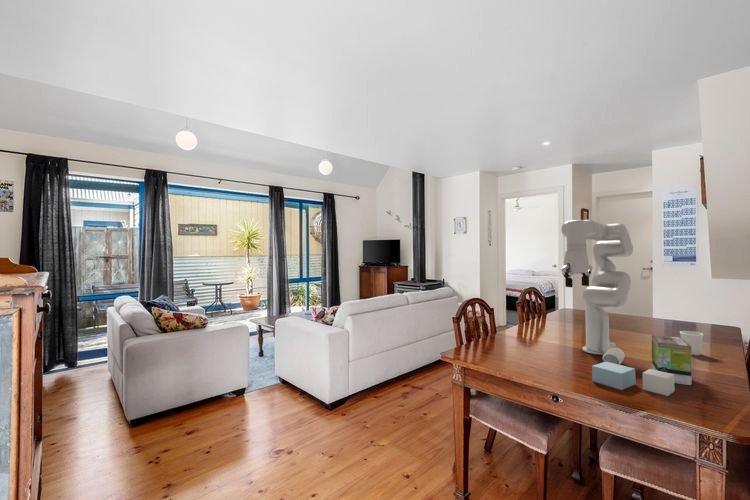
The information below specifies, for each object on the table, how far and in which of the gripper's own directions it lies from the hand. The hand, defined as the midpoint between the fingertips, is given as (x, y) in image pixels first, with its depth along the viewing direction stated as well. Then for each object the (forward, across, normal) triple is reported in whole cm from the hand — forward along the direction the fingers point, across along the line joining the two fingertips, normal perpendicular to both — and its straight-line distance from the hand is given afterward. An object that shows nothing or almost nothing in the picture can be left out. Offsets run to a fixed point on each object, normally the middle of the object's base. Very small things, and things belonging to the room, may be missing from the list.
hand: (577, 286), depth 152 cm
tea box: (+34, -17, +26) cm, 46 cm away
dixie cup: (+35, -60, +10) cm, 70 cm away
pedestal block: (+34, +9, +22) cm, 41 cm away
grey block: (+34, +1, +32) cm, 47 cm away
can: (+31, -17, +5) cm, 35 cm away
